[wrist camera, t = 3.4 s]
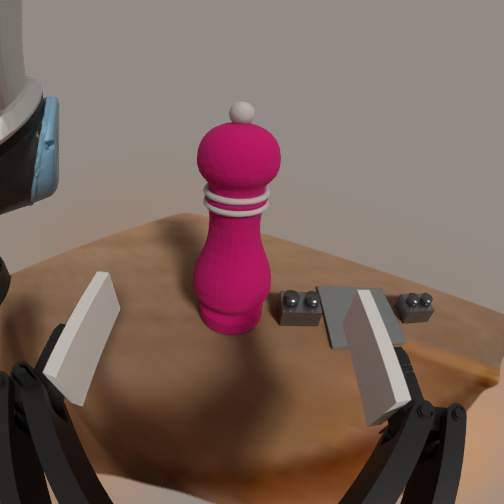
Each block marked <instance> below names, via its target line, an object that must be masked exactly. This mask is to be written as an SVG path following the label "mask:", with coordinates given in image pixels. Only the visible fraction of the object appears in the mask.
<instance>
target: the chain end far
mask: <svg viewBox="0 0 504 504" xmlns="http://www.w3.org/2000/svg"><path fill="white" fill-rule="evenodd" d="M432 300H433V299H432V297H431V295H429V294H428V293H423V294H415V293H410V294H401V295H400V297H399V299H398V301H397V303H396V305H395V307H396V309H397V311H398V313H399V315H400V317H401V319H402V322H403V323H417V322H427V321H428V320H429V318H430V317H431V315H432V314H433V312H434V309H433V307H432V305H431V302H432Z"/></svg>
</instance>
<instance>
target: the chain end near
mask: <svg viewBox="0 0 504 504" xmlns="http://www.w3.org/2000/svg"><path fill="white" fill-rule="evenodd" d="M320 300H321V296H320V295H319V294H318V293H317V292H314V291H309V292H295V291H292V290H289V291H280V296H279V300H278V313H279V324H280V325H282V326H318V324H319V321H320V318H321V316H322V309H321V305H320Z"/></svg>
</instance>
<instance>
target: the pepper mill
mask: <svg viewBox="0 0 504 504" xmlns="http://www.w3.org/2000/svg"><path fill="white" fill-rule="evenodd" d="M229 116H230V119H231V121H232V122H231V123H225V124H222V125H219V126H217V127H215V128H213V129H212V130H210V131H209V132H208V133H207V134H206V135H205V136H204V137H203V139H202V141H201V143H200V145H199V149H198V154H197V165H198V168H199V172H200V173H201V175H202V176H203V177H204V178H205V179H206V181H207V182H208V183H207V184H206V185H205V187H204V194H205V198H204V205H205V206H206V207H207V208H208V209H209V217H210V221H209V231H208V236H207V240H206V243H205V245H204V247H203V249H202V251H201V253H200V255H199V257H198V259H197V261H196V265H195V269H194V274H193V286H194V291H195V293H196V295H197V297H198V298H199V300H200V313H201V317H202V320H203V321H204V323H205V324H206V325H207V326H208V327H209V328H211V329H212V330H214V331H216V332H219V333H222V334H226V335H237V334H241V333H245V332H247V331H249V330H251V329H252V328H254V327H255V326H256V325H257V323H258V322H259V320H260V317H261V311H262V303H263V302H264V300H265V299H266V298H267V296H268V294H269V291H270V285H271V273H270V267H269V263H268V260H267V257H266V254H265V251H264V249H263V245H262V242H261V236H260V220H261V214H262V212H264V211H265V210H266V209H267V208H268V205H269V202H268V197H269V195H270V190H269V188H268V187H267V184H268V183H270V182H271V181H272V180H273V179H274V178H275V177H276V175H277V173H278V171H279V168H280V161H281V154H280V148H279V145H278V143H277V141H276V139H275V138H274V137H273V135H272V134H271V133H269V132H268V131H267V130H266V129H264V128H262V127H260V126H257V125H254V124H251V122H252V120H253V119H254V117H255V110H254V108H253V106H252V105H251V104H249V103H247V102H237V103H235V104H234V105H233V106H232V107H231V109H230V112H229Z"/></svg>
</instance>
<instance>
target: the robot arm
mask: <svg viewBox="0 0 504 504" xmlns="http://www.w3.org/2000/svg"><path fill="white" fill-rule="evenodd" d="M58 152H59V103H58V98H57V97H51V96H48V97H46V98H44V99H43V94H42V88H41V84H40V83H39V82H38V81H37V80H36V79H34V78H31V77H28V76H25V68H24V59H23V46H22V0H0V215H1V214H4V213H7V212H10V211H13V210H16V209H18V208H22V207H25V206H28V205H29V206H30V205H33V203H34V202H37V201H39V200H42V199H45V198H47V197H50V196H51V195H52V194H53V193H54V192H55V191H56V189H57V186H58V181H59V153H58ZM9 281H10V277H9V273H8V270H7V268H6V266H5V263H4V261H3V260H2V258H1V257H0V303H1V302H2V300H3V298H4V297H5V294H6V292H7V290H8V286H9ZM119 311H120V306H119V303H118V300H117V297H116V294H115V290H114V287H113V284H112V281H111V277H110V274H109V273H107V272H98V271H97V273H96V275H95V276H94V278H93V279H92V281H91V283H90V284H89V286H88V287H87V289H86V291H85V292H84V294H83V296H82V297H81V299H80V301H79V303H78V304H77V306H76V308H75V310H74V311H73V313H72V315H71V317H70V318H69V320H68V322H67V324H66V325H64V324H61V323H60V324H59V325H58V326H57V327H56V328H55V329H54V330H53V332H52V334H51V336H50V338H49V340H48V342H47V344H46V347H44V349H43V351H42V353H41V356H40V358H39V360H38V362H37V364H36V366H35V368H34V370H33V368H32V367H31V366H30V365H29V364H28V363H27V362H24V361H22V362H18V363H17V364H15V365H14V367H13V368H12V370H11V373H10V377H9V376H8V375H7V374H6V373H5V372H3V371H0V504H52V502H51V500H50V495H49V491H48V488H47V484H46V479H45V475H46V477H47V479H48V482H49V484H50V486H51V488H52V490H53V493H54V495H55V497H56V499H57V501H58V503H59V504H113V502H112V501H111V499H110V498H109V496H108V494H107V493H106V491H105V490H104V488H103V486H102V485H101V483H100V481H99V479H98V477H97V475H96V474H95V472H94V470H93V468H92V466H91V464H90V462H89V460H88V458H87V456H86V454H85V452H84V450H83V447H82V445H81V443H80V441H79V438H78V436H77V434H76V431H75V429H74V426H73V424H72V421H71V419H70V416H69V413H68V410H67V408H66V405H65V403H64V398H65V397H66V398H67V399H68V400H69V401H70V402H71V403H74V404H77V405H80V406H82V407H83V404H84V401H85V398H86V395H87V392H88V389H89V386H90V383H91V381H92V378H93V375H94V372H95V370H96V367H97V364H98V362H99V359H100V356H101V354H102V351H103V349H104V346H105V344H106V341H107V339H108V337H109V334H110V332H111V329H112V327H113V325H114V323H115V320H116V318H117V316H118V313H119ZM342 326H343V329H344V333H345V336H346V340H347V344H348V347H349V351H350V355H351V358H352V362H353V366H354V370H355V374H356V378H357V382H358V386H359V391H360V395H361V399H362V404H363V408H364V413H365V417H366V422H367V427H371V426H376V425H381V424H382V423H384V422H385V421H386V420H388V425H387V426H386V427H385V428H383V429H382V430H381V431H380V432H379V434H381V433H383V434H382V436H381V438H380V440H379V442H378V444H377V445H376V447H375V449H374V451H373V452H372V454H371V456H370V457H369V459H368V461H367V462H366V464H365V466H364V467H363V469H362V470H361V472H360V473H359V475H358V477H357V478H356V480H355V481H354V482H353V484H352V485H351V487H350V488H349V490H348V491H347V492H346V494H345V495H344V497H343V498H342V499H341V501H340V502H339V503H338V504H395V503H396V502H397V500H398V498H399V496H400V495H401V493H402V491H403V489H404V487H405V485H406V487H405V491H404V494H403V497H402V501H401V503H400V504H455V499H456V495H457V490H458V486H459V481H460V476H461V469H462V463H463V456H464V455H463V454H464V446H465V436H466V417H467V416H466V411H465V408H464V407H463V406H462V405H461V404H459V403H454V404H452V405H450V406H449V407H448V408H442V407H434V406H433V405H432V404H431V403H430V402H429V401H426V400H424V398H423V396H422V393H421V390H420V387H419V385H418V382H417V379H416V376H415V373H414V372H413V368H412V365H410V364H411V363H410V360H409V358H408V355H407V354H406V352H405V351H404V350H403V349H402V347H393V345H392V343H391V340H390V338H389V335H388V332H387V330H386V327H385V325H384V323H383V320H382V318H381V315H380V313H379V311H378V308H377V306H376V304H375V301H374V299H373V297H372V295H371V292H370V290H357V291H356V293H355V296H354V298H353V301H352V303H351V305H350V307H349V310H348V312H347V314H346V316H345V319H344V321H343V323H342ZM44 472H45V475H44Z"/></svg>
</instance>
